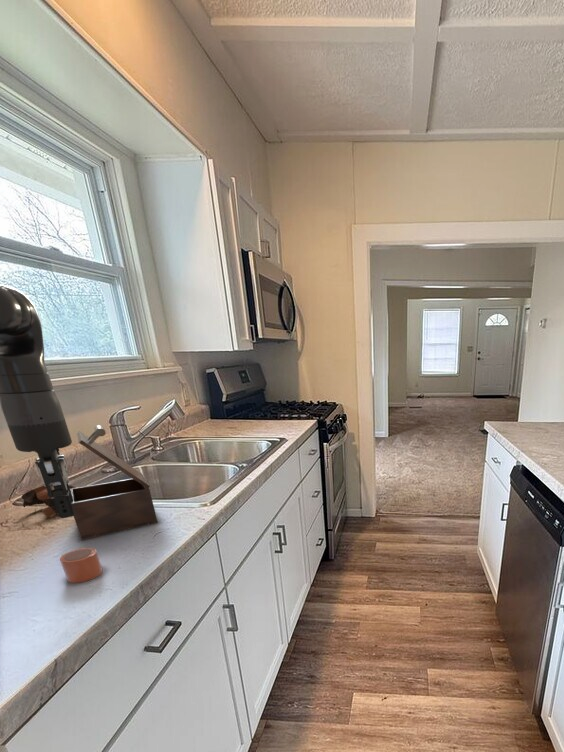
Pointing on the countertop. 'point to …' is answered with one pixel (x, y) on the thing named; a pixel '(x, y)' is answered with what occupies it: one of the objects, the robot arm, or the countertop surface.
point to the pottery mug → (41, 499)
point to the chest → (112, 507)
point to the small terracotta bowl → (81, 565)
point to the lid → (109, 455)
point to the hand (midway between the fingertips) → (67, 509)
